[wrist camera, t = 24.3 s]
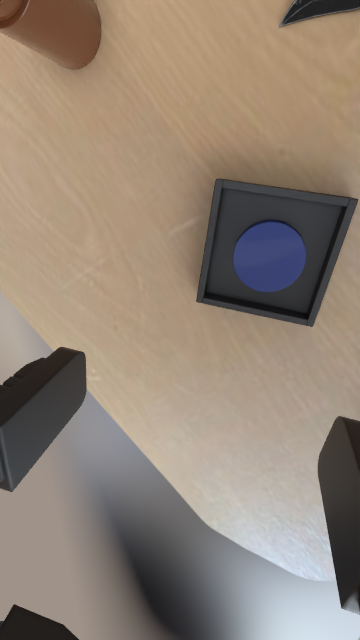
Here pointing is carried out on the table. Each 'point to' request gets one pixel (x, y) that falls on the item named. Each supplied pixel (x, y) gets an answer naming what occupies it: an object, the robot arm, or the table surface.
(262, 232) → the lid
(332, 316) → the table surface
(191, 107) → the table surface
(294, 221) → the tray
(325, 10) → the knife
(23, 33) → the jar
